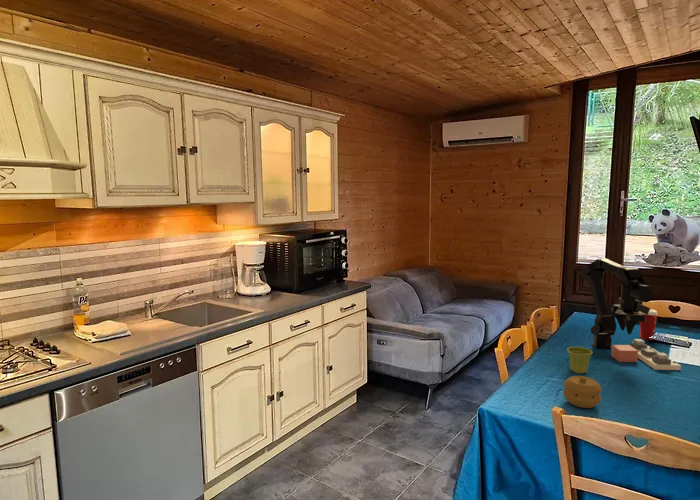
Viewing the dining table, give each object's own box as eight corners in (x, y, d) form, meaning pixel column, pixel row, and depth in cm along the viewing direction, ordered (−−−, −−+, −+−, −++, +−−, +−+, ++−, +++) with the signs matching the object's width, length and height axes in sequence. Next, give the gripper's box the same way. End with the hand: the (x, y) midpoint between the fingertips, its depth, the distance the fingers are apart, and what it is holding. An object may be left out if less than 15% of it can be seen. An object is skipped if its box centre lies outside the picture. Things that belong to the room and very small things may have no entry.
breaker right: (659, 360, 197) (660, 355, 197) (655, 357, 201) (655, 352, 200) (667, 360, 197) (668, 355, 197) (663, 357, 200) (663, 352, 200)
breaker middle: (647, 355, 207) (647, 351, 206) (643, 353, 210) (643, 349, 209) (655, 356, 206) (655, 351, 206) (651, 353, 209) (651, 349, 209)
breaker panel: (654, 369, 197) (655, 360, 196) (625, 349, 220) (626, 341, 220) (680, 370, 196) (681, 360, 195) (648, 350, 220) (649, 341, 219)
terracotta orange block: (619, 361, 206) (620, 350, 205) (611, 355, 213) (611, 344, 212) (637, 362, 205) (638, 350, 204) (628, 355, 212) (629, 345, 212)
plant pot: (565, 372, 194) (566, 352, 193) (566, 365, 202) (567, 345, 201) (591, 376, 190) (592, 355, 189) (591, 368, 198) (592, 348, 197)
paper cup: (659, 340, 233) (661, 312, 231) (643, 340, 233) (645, 312, 231) (649, 335, 241) (651, 308, 239) (634, 335, 241) (636, 308, 239)
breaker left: (637, 345, 215) (637, 341, 215) (633, 343, 218) (633, 338, 218) (644, 345, 215) (644, 341, 215) (640, 343, 218) (641, 339, 218)
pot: (604, 414, 159) (606, 385, 158) (565, 410, 162) (567, 381, 161) (596, 399, 170) (598, 372, 169) (560, 395, 173) (562, 368, 172)
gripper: (660, 302, 195) (657, 339, 198) (636, 292, 214) (634, 326, 216) (632, 302, 196) (629, 338, 198) (610, 292, 215) (608, 325, 217)
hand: (625, 332), depth 207 cm, fingers open, 5 cm apart
